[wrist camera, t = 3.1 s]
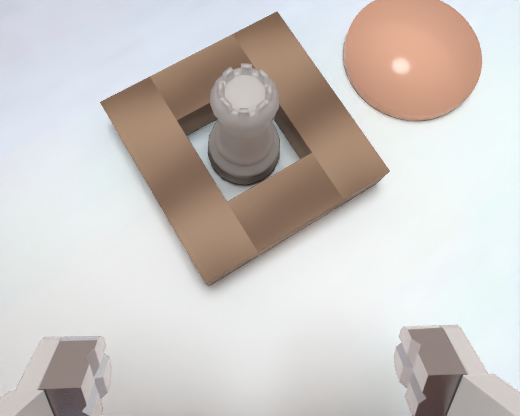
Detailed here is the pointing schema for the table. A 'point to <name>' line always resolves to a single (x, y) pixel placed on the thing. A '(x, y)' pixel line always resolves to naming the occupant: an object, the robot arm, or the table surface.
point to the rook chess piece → (244, 125)
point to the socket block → (268, 191)
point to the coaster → (412, 58)
